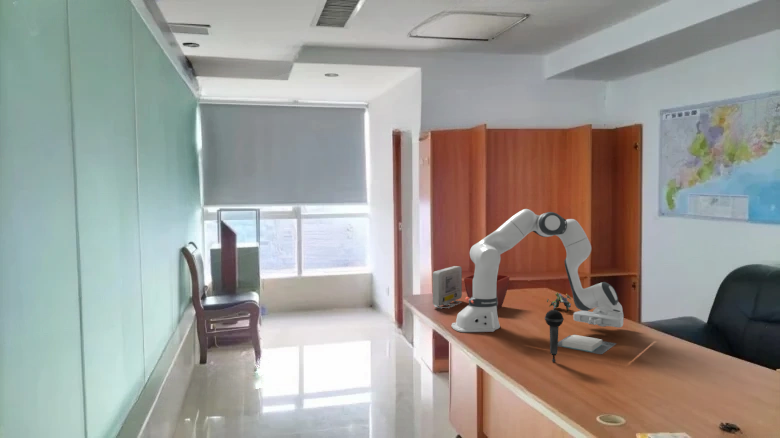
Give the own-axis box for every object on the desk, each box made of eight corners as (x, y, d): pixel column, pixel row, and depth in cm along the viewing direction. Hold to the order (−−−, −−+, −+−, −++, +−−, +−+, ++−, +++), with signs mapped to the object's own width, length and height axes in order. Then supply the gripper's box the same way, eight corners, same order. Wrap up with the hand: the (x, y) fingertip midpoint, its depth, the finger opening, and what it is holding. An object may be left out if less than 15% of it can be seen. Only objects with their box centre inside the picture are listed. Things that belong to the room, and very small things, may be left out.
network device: (452, 299, 321) (452, 265, 319) (466, 301, 316) (466, 266, 314) (429, 308, 300) (428, 271, 299) (443, 310, 295) (443, 273, 294)
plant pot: (510, 306, 303) (510, 275, 302) (497, 313, 287) (497, 281, 286) (477, 302, 313) (477, 272, 312) (463, 309, 297) (463, 278, 296)
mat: (569, 336, 243) (569, 335, 243) (616, 344, 231) (616, 343, 231) (552, 346, 230) (552, 345, 229) (601, 355, 217) (601, 354, 217)
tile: (573, 334, 236) (562, 341, 227) (602, 339, 229) (591, 346, 219) (573, 339, 237) (562, 346, 227) (602, 344, 229) (591, 352, 220)
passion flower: (567, 320, 292) (577, 305, 284) (547, 317, 290) (557, 302, 283) (561, 304, 300) (571, 289, 293) (542, 301, 299) (551, 286, 292)
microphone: (560, 366, 205) (561, 313, 204) (542, 363, 209) (542, 310, 208) (565, 361, 211) (565, 309, 210) (547, 358, 215) (547, 307, 213)
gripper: (579, 305, 252) (567, 311, 242) (626, 312, 239) (616, 318, 228) (579, 319, 253) (567, 326, 242) (626, 326, 239) (616, 333, 229)
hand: (591, 322), depth 235 cm, fingers closed
